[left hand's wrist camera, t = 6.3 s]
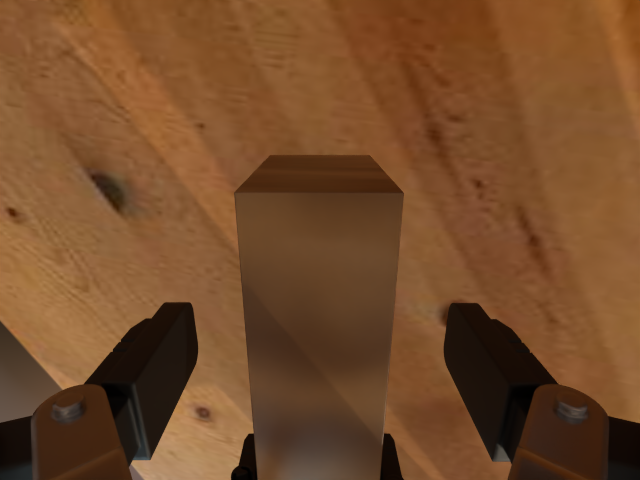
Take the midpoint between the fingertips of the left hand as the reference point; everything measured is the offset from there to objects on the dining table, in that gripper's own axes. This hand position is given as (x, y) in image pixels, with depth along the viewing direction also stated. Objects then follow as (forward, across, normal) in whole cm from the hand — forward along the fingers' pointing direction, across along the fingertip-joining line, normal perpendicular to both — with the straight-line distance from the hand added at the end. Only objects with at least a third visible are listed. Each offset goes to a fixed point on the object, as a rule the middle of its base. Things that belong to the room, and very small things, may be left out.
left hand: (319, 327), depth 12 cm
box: (+12, 0, +7) cm, 14 cm away
